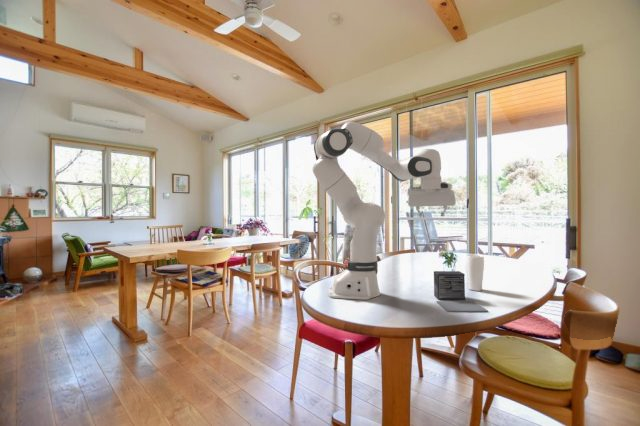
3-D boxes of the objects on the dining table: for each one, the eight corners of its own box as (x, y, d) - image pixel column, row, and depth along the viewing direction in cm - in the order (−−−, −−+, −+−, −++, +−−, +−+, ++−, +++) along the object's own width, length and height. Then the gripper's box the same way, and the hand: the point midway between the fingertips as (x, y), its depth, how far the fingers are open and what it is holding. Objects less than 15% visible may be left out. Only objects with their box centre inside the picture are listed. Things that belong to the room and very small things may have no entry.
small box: (459, 295, 126) (459, 270, 126) (465, 300, 120) (465, 274, 119) (433, 295, 127) (433, 270, 127) (437, 300, 121) (437, 273, 121)
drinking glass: (483, 292, 130) (483, 257, 130) (465, 290, 134) (465, 256, 133) (484, 288, 136) (484, 255, 136) (467, 287, 139) (467, 254, 139)
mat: (447, 312, 107) (447, 310, 107) (436, 302, 118) (436, 301, 118) (488, 312, 106) (488, 310, 106) (473, 302, 117) (473, 301, 117)
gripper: (406, 186, 139) (406, 216, 140) (454, 184, 130) (455, 216, 130) (408, 187, 145) (409, 216, 145) (455, 184, 136) (456, 215, 136)
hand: (431, 216), depth 138 cm, fingers open, 8 cm apart
